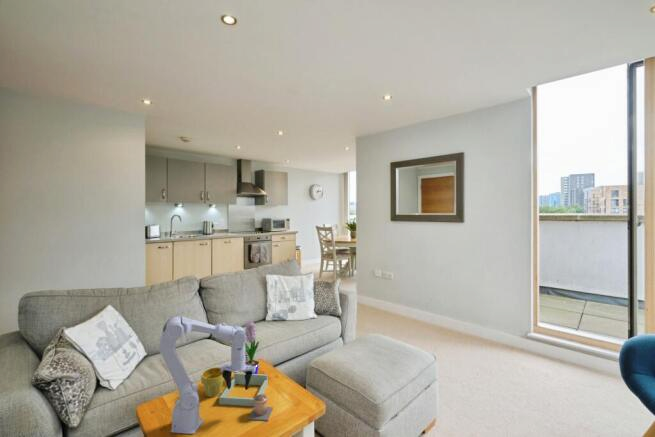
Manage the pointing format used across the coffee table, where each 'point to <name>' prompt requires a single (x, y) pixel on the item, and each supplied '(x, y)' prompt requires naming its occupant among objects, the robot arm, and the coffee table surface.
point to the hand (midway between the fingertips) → (238, 388)
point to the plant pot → (212, 381)
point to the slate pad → (261, 418)
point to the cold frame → (240, 379)
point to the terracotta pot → (260, 404)
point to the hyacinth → (252, 337)
